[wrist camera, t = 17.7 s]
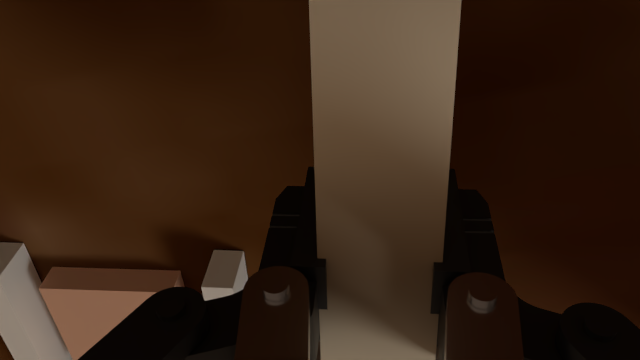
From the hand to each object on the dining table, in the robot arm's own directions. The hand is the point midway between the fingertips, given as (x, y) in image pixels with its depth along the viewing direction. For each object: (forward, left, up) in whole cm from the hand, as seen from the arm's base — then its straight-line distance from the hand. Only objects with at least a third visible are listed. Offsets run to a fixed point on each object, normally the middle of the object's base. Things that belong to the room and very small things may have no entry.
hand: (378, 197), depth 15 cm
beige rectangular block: (0, 0, -2) cm, 2 cm away
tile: (+16, -14, -10) cm, 23 cm away
